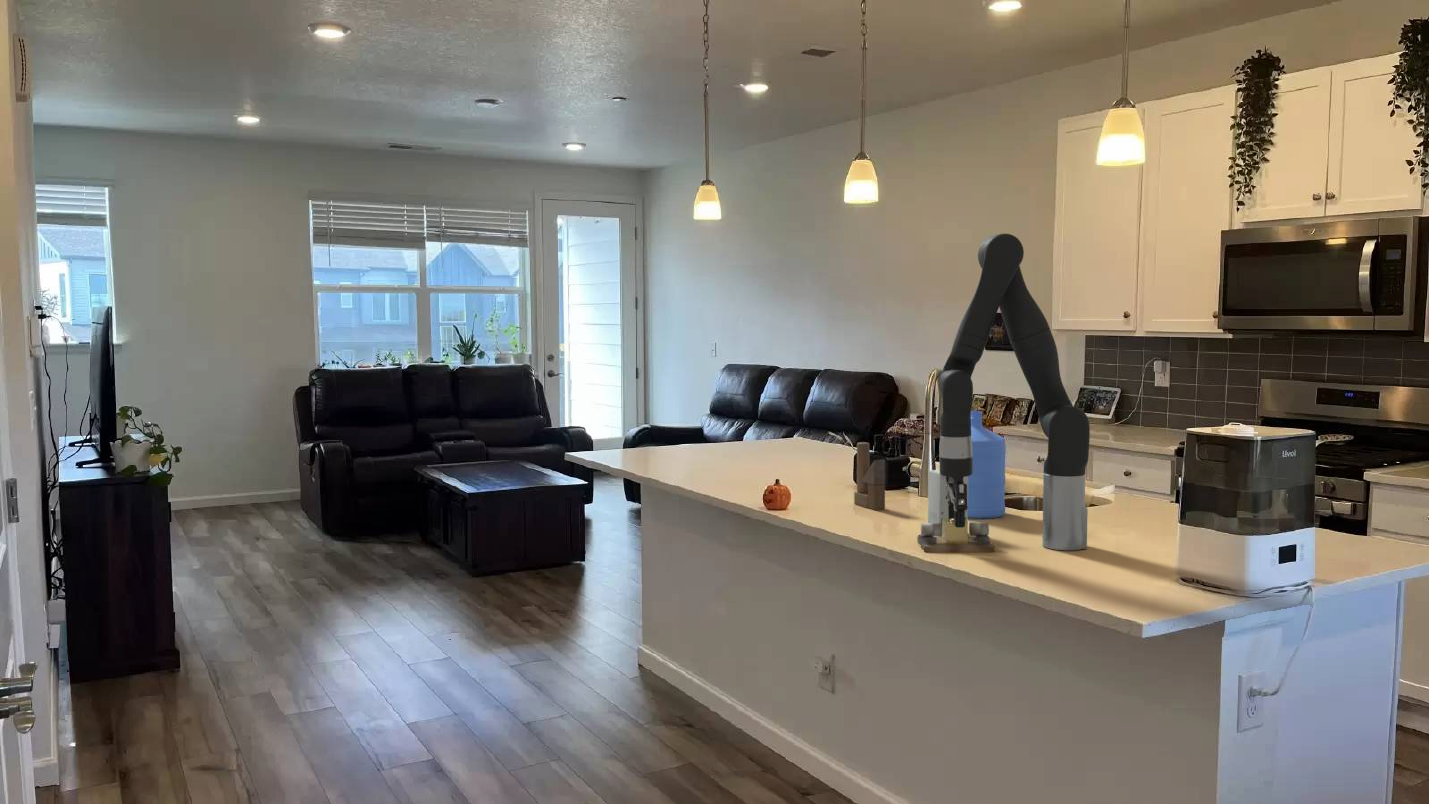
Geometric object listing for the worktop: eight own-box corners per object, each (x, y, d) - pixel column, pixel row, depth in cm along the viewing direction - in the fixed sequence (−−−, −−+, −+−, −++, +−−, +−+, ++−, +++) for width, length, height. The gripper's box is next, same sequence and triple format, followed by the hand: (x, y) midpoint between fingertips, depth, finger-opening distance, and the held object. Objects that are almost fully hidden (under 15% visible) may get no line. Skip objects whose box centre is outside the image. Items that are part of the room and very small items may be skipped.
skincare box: (938, 536, 254) (939, 473, 253) (926, 531, 260) (926, 469, 259) (969, 534, 256) (969, 471, 255) (956, 528, 262) (956, 468, 261)
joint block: (963, 539, 245) (963, 516, 244) (967, 543, 240) (967, 521, 239) (942, 539, 245) (942, 516, 244) (945, 543, 240) (946, 521, 239)
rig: (984, 541, 247) (984, 518, 247) (994, 552, 236) (994, 527, 236) (915, 541, 248) (915, 518, 248) (922, 552, 237) (922, 527, 237)
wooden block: (874, 510, 288) (874, 446, 287) (853, 504, 298) (853, 442, 296) (885, 509, 290) (885, 445, 288) (864, 503, 299) (864, 441, 298)
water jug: (1008, 520, 273) (1009, 414, 270) (947, 519, 275) (948, 414, 273) (1001, 509, 288) (1002, 409, 286) (944, 508, 291) (944, 409, 288)
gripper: (978, 458, 233) (978, 529, 235) (966, 450, 247) (966, 517, 249) (944, 459, 234) (945, 530, 235) (934, 451, 248) (935, 517, 249)
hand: (956, 523), depth 242 cm, fingers open, 8 cm apart
